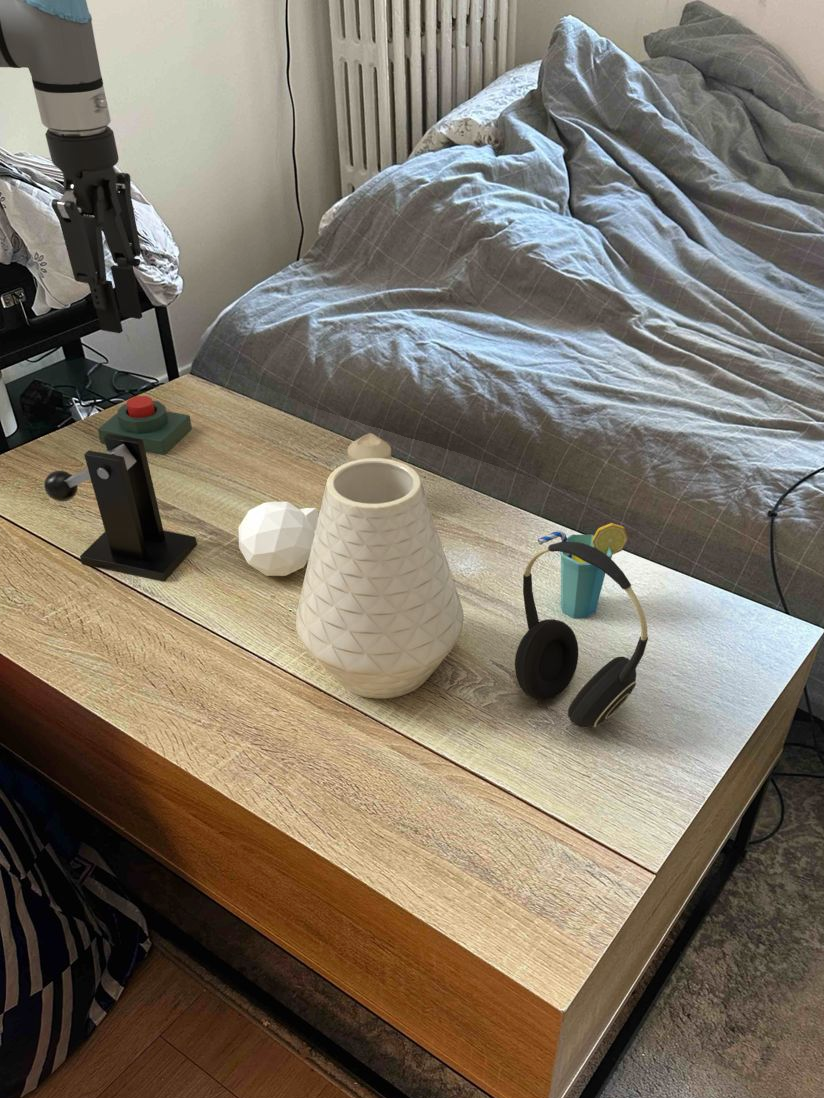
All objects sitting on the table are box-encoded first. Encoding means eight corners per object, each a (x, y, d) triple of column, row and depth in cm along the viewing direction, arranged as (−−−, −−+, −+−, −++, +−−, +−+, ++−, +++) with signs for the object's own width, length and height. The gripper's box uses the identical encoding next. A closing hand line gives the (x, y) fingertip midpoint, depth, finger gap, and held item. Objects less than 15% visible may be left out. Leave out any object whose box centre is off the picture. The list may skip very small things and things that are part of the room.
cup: (544, 637, 110) (553, 551, 102) (519, 606, 114) (525, 521, 106) (626, 611, 114) (641, 527, 106) (599, 582, 118) (611, 498, 110)
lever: (52, 510, 115) (31, 485, 113) (70, 495, 117) (50, 470, 116) (127, 478, 109) (106, 451, 107) (143, 462, 111) (123, 435, 109)
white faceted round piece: (295, 590, 111) (349, 548, 121) (271, 516, 107) (329, 478, 116) (237, 590, 115) (293, 549, 124) (211, 518, 111) (272, 481, 120)
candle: (356, 493, 131) (351, 426, 124) (396, 497, 130) (394, 430, 124) (347, 516, 127) (342, 448, 120) (388, 520, 126) (386, 452, 120)
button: (123, 416, 136) (121, 405, 135) (137, 405, 139) (134, 394, 137) (147, 420, 135) (144, 409, 134) (160, 409, 138) (157, 398, 137)
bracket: (81, 564, 116) (48, 455, 106) (117, 528, 122) (89, 422, 112) (165, 581, 115) (139, 472, 105) (197, 544, 120) (176, 438, 110)
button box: (100, 443, 137) (94, 417, 135) (130, 417, 143) (124, 392, 140) (164, 455, 136) (159, 429, 133) (192, 428, 141) (187, 403, 139)
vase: (430, 738, 98) (429, 552, 82) (273, 698, 101) (244, 511, 85) (482, 633, 110) (490, 454, 95) (341, 600, 113) (327, 422, 98)
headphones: (602, 762, 96) (630, 605, 83) (491, 692, 103) (499, 536, 90) (650, 718, 101) (684, 563, 88) (541, 653, 108) (556, 500, 95)
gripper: (64, 150, 106) (112, 354, 121) (146, 114, 118) (180, 303, 134) (3, 142, 107) (58, 345, 123) (91, 107, 119) (131, 295, 135)
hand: (122, 323), depth 128 cm, fingers open, 4 cm apart
